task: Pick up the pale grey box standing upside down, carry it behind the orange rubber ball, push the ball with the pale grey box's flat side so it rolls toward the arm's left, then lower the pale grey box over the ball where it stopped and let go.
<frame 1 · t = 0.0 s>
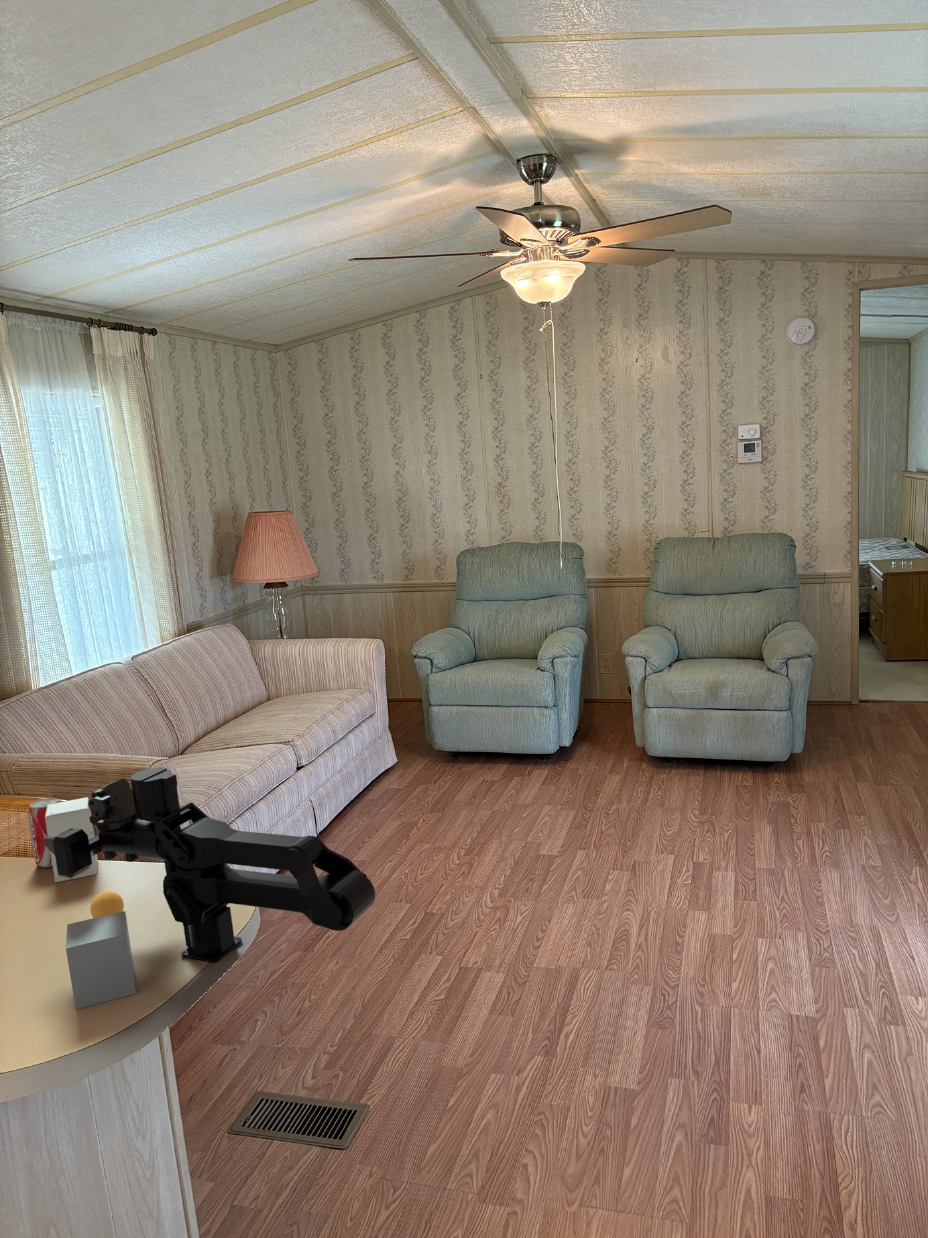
hand: (68, 830, 149), 17 cm above the table, tool horizontal, fingers open, 9 cm apart
ball: (107, 907, 153), on the table
beverage can: (54, 864, 180), on the table
pale grey box: (106, 988, 133), on the table
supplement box: (77, 872, 175), on the table
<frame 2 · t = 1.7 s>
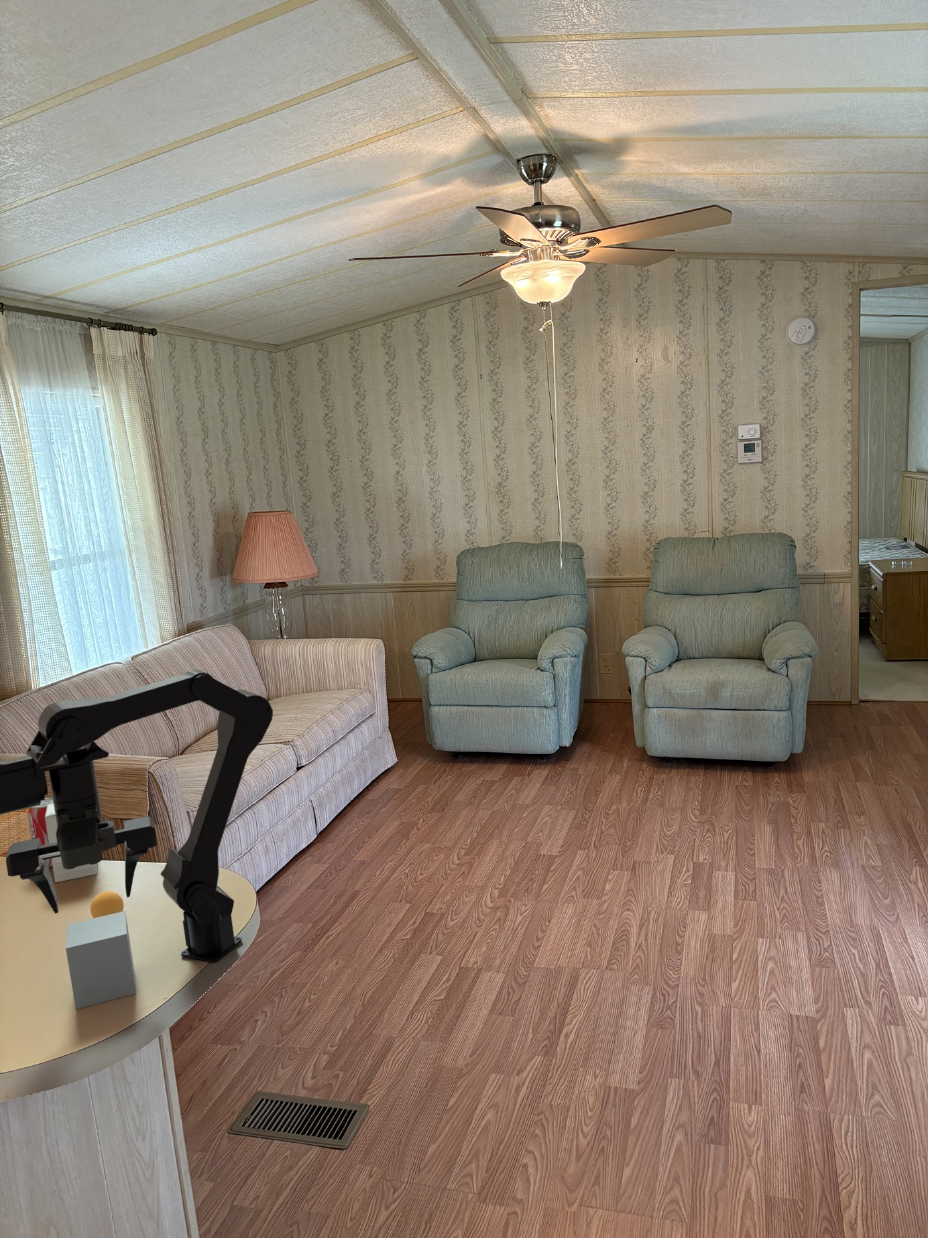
hand: (93, 904, 131), 12 cm above the table, tool pointing down, fingers open, 9 cm apart
nothing on the table moved.
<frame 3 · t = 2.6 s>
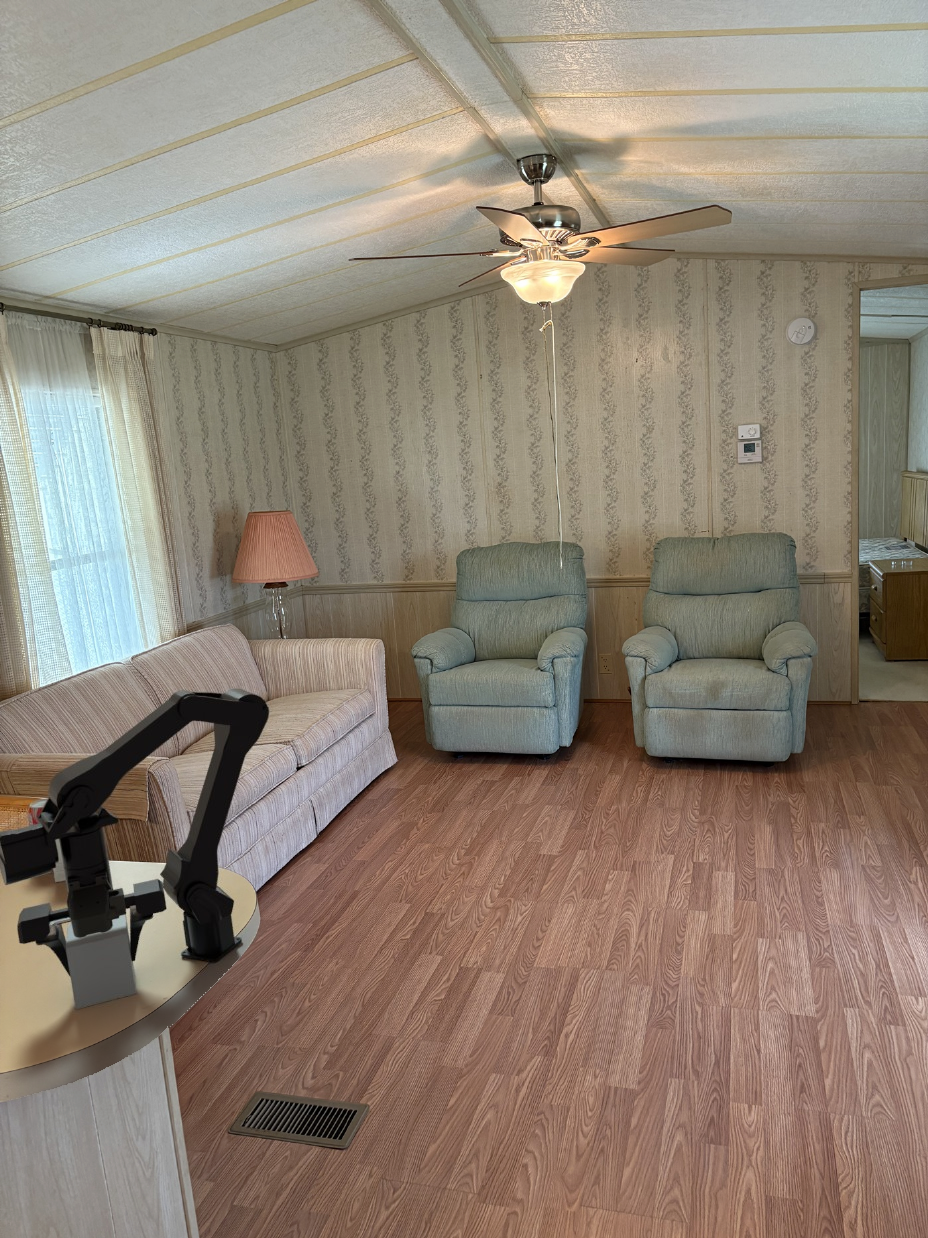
hand: (102, 967, 132), 3 cm above the table, tool pointing down, fingers closed on pale grey box, 8 cm apart
pale grey box: (106, 988, 133), on the table, touching gripper
everything else where it was.
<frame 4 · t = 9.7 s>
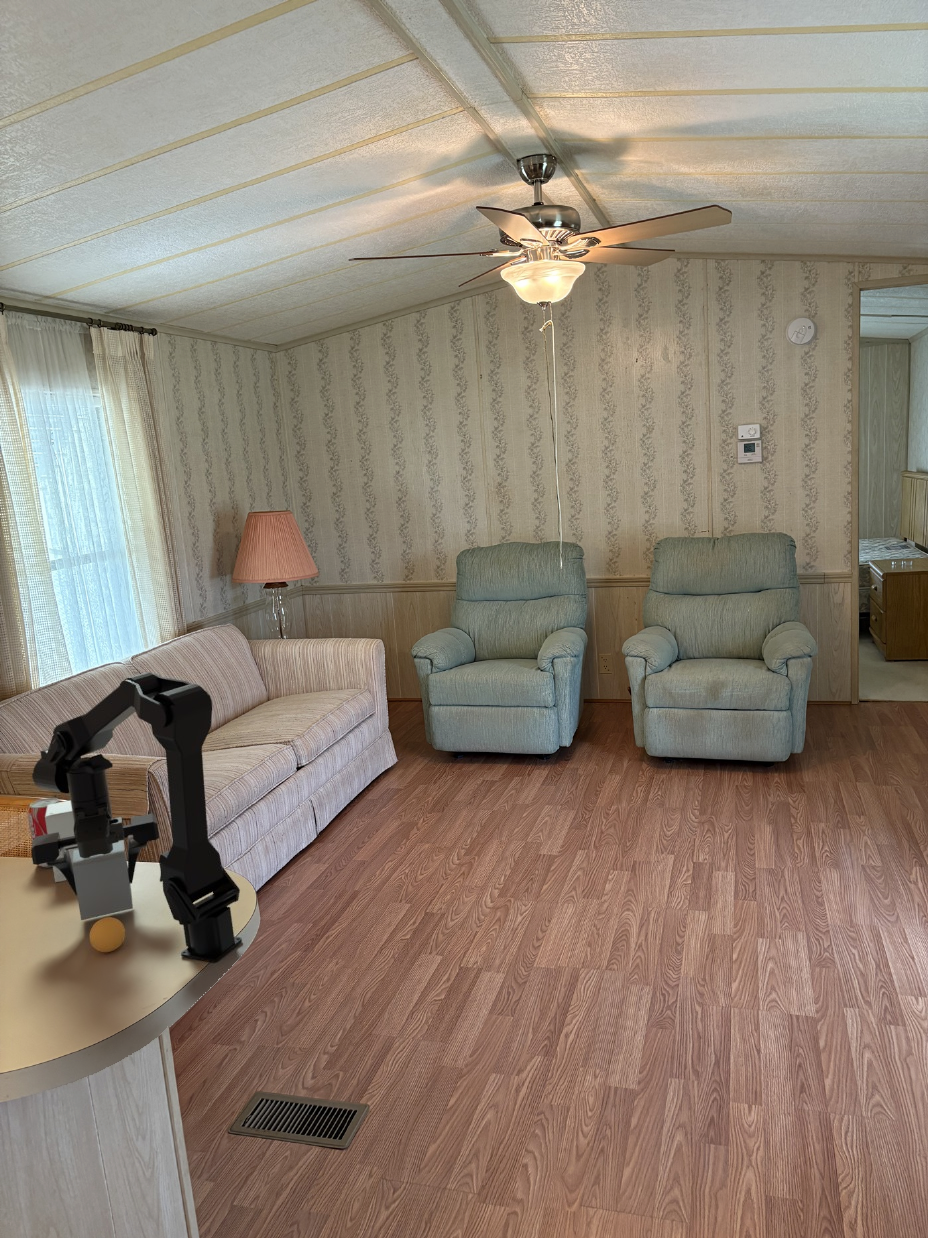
hand: (104, 888, 153), 5 cm above the table, tool pointing down, fingers closed on pale grey box, 8 cm apart
ball: (107, 934, 143), on the table
pale grey box: (107, 904, 154), point 2 cm above the table, touching gripper
everything else where it was.
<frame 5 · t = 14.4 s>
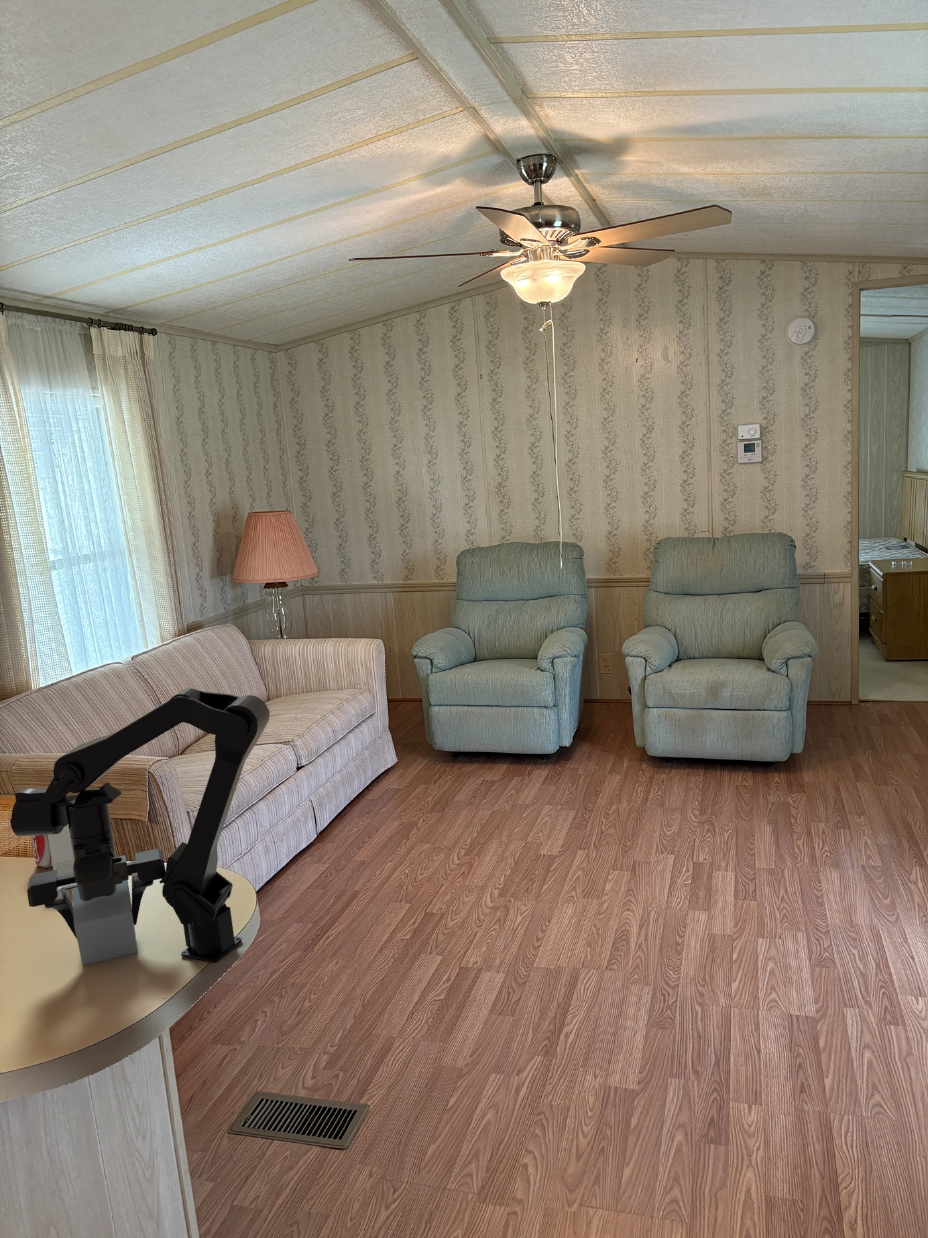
hand: (106, 930, 141), 4 cm above the table, tool pointing down, fingers closed on pale grey box, 8 cm apart
ball: (107, 931, 144), on the table, touching pale grey box
pale grey box: (108, 938, 144), point 2 cm above the table, tilted 25°, touching ball, gripper
everything else where it was.
when the fingers open (4 cm above the table, at t = 14.9 s): pale grey box drops 2 cm, on the table.
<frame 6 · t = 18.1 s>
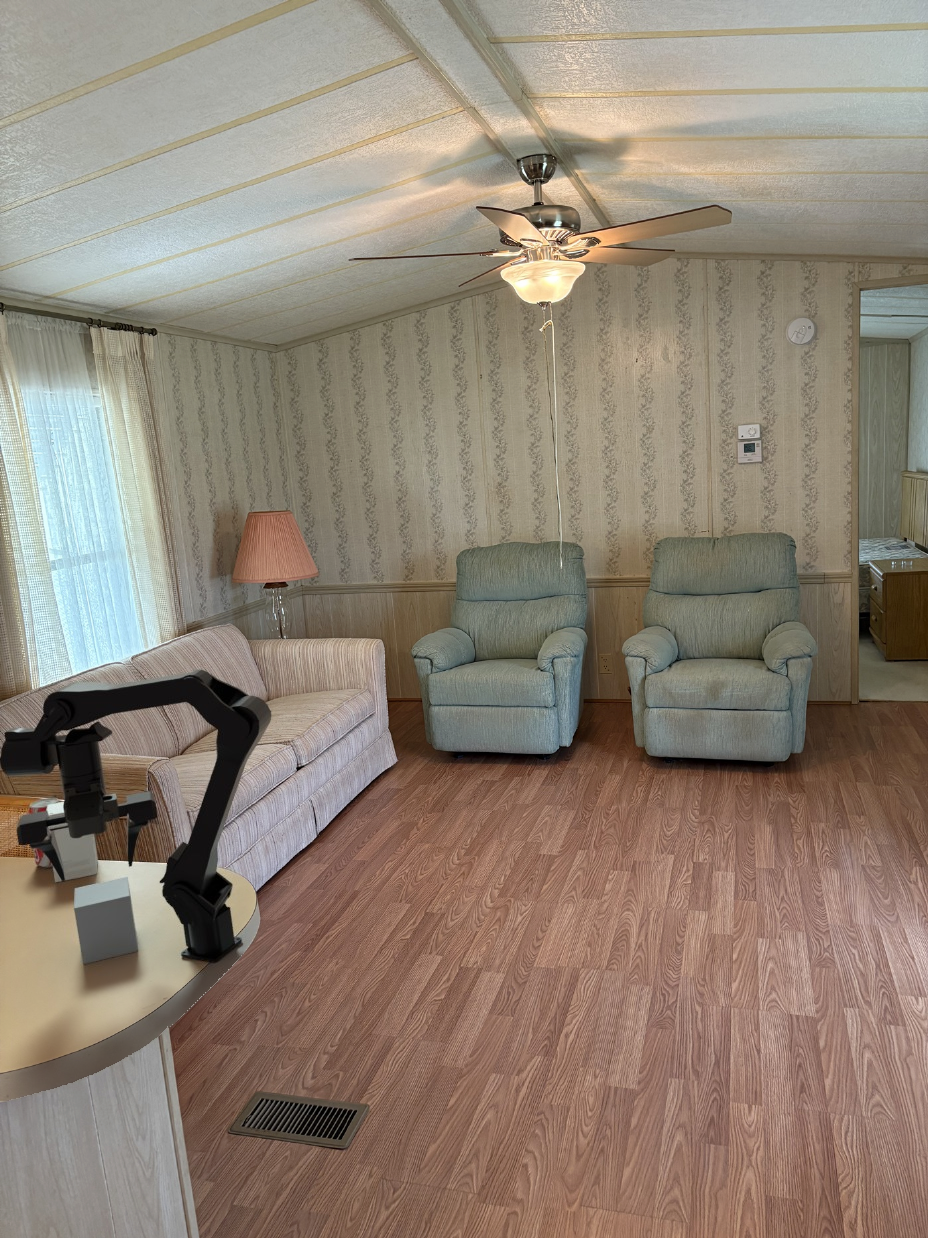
hand: (97, 872, 140), 13 cm above the table, tool pointing down, fingers open, 9 cm apart
ball: (106, 931, 144), on the table
pale grey box: (110, 946, 145), on the table
everything else where it was.
at the end: ball 0.2 cm from the pale grey box (horizontally); pale grey box on the table; ball moved 9.2 cm from its start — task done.
